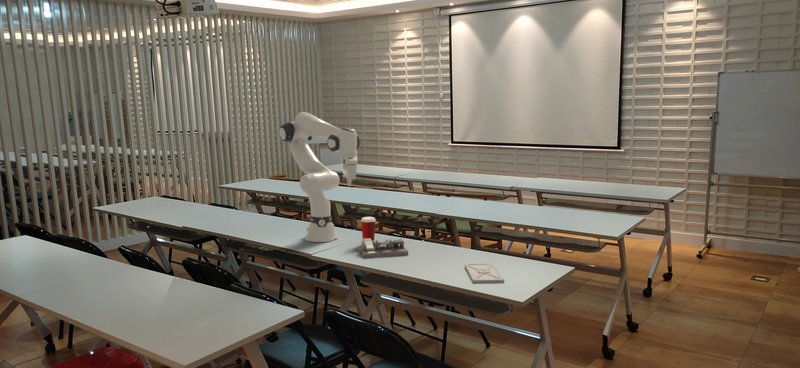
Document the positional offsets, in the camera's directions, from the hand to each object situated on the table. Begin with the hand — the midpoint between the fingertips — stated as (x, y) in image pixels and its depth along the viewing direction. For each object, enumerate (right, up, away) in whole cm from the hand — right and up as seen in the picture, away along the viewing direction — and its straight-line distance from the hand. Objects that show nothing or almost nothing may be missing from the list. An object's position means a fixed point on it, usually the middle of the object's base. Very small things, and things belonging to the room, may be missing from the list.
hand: (349, 185), depth 303 cm
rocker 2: (+17, -30, +4) cm, 35 cm away
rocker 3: (+25, -30, +5) cm, 39 cm away
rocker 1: (+10, -31, +2) cm, 32 cm away
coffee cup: (+9, -33, +20) cm, 39 cm away
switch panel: (+18, -35, +2) cm, 39 cm away
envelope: (+65, -41, -35) cm, 84 cm away
